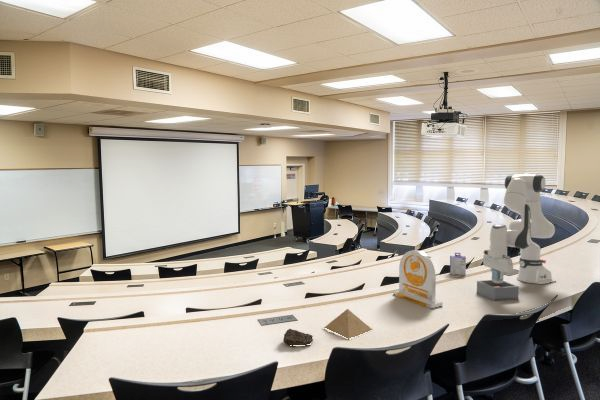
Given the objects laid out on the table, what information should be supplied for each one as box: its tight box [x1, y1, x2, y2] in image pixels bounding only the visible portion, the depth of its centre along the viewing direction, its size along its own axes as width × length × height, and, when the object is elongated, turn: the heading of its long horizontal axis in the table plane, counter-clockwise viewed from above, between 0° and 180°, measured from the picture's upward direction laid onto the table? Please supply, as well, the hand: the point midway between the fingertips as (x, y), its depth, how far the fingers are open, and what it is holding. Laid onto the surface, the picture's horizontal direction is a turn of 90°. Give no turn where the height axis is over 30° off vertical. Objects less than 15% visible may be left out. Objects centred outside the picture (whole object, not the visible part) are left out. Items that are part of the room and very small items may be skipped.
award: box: [393, 249, 444, 309], centre depth 216 cm, size 28×9×28 cm, turn 29°
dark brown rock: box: [283, 328, 314, 346], centre depth 163 cm, size 12×10×5 cm
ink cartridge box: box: [449, 252, 467, 276], centre depth 271 cm, size 10×6×14 cm, turn 78°
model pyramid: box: [323, 308, 373, 339], centre depth 177 cm, size 17×17×10 cm
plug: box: [491, 269, 504, 283], centre depth 223 cm, size 4×4×7 cm
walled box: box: [476, 279, 520, 302], centre depth 223 cm, size 15×15×7 cm
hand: (497, 277), depth 223 cm, fingers closed on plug, 4 cm apart
